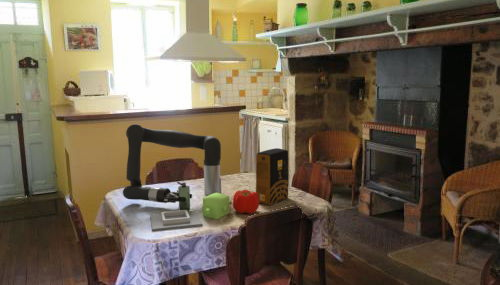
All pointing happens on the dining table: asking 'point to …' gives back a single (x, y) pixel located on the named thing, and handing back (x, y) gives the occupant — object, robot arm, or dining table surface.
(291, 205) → the dining table surface
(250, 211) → the tomato
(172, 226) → the pad
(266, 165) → the black and gold box
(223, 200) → the gearbox
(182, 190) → the spout can
